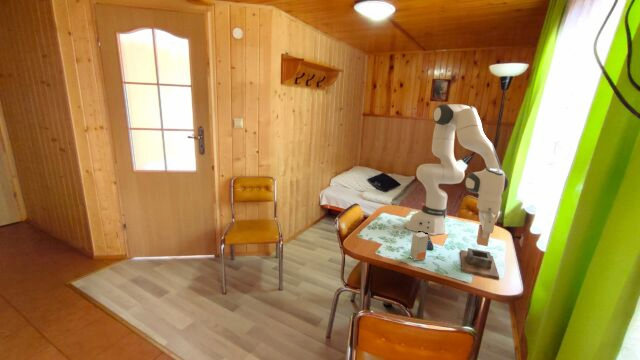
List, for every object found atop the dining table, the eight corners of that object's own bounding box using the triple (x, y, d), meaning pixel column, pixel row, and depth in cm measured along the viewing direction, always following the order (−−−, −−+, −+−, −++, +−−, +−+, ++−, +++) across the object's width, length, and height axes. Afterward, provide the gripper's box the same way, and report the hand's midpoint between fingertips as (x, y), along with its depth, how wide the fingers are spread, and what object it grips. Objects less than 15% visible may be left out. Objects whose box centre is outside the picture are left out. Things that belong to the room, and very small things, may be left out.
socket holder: (462, 271, 130) (464, 260, 129) (460, 252, 148) (461, 242, 147) (498, 279, 125) (501, 268, 124) (492, 258, 143) (494, 248, 142)
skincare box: (415, 261, 138) (418, 237, 135) (409, 256, 141) (412, 233, 139) (425, 259, 140) (429, 235, 137) (419, 254, 144) (422, 231, 141)
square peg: (477, 244, 133) (480, 227, 131) (476, 241, 136) (479, 224, 135) (487, 246, 131) (490, 229, 130) (486, 242, 135) (489, 226, 133)
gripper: (500, 214, 119) (494, 245, 122) (493, 200, 138) (488, 228, 141) (483, 211, 122) (477, 242, 125) (478, 198, 140) (473, 226, 143)
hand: (483, 235), depth 133 cm, fingers closed on square peg, 4 cm apart
